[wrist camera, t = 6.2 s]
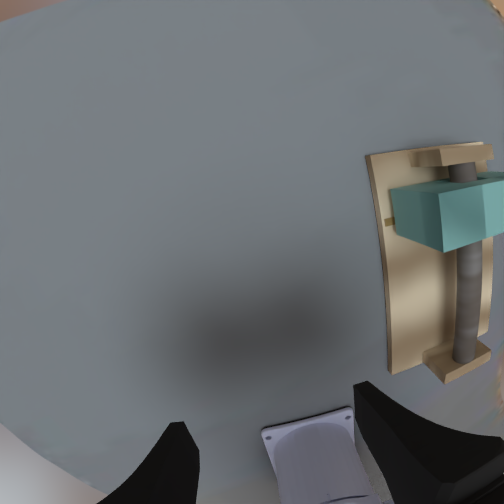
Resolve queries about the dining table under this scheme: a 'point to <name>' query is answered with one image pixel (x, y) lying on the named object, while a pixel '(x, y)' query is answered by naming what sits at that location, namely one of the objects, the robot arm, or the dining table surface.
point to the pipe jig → (432, 268)
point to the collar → (450, 211)
